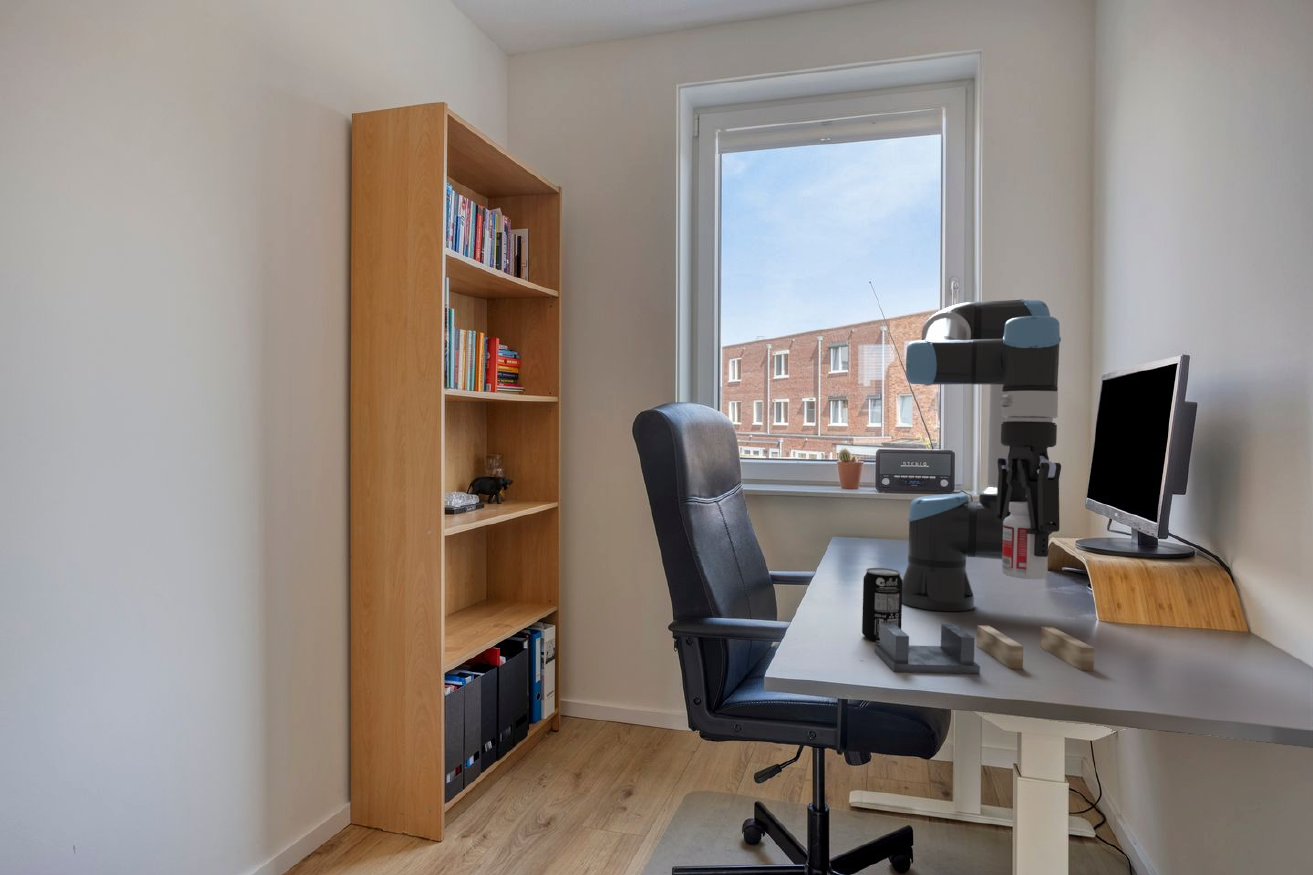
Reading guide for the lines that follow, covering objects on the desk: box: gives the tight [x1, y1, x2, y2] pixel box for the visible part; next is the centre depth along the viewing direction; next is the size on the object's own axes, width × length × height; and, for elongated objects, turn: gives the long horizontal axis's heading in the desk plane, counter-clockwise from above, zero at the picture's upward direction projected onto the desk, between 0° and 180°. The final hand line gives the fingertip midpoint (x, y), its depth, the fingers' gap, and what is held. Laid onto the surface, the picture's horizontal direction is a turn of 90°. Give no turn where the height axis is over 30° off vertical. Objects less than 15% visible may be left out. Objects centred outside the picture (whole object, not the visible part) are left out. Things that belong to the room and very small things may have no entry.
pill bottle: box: [1001, 502, 1049, 580], centre depth 111 cm, size 6×6×11 cm
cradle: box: [874, 622, 981, 675], centre depth 117 cm, size 10×13×5 cm
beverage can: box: [861, 567, 903, 644], centre depth 130 cm, size 7×7×12 cm
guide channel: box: [976, 625, 1095, 671], centre depth 121 cm, size 12×13×4 cm
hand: (1024, 572), depth 111 cm, fingers closed on pill bottle, 6 cm apart
